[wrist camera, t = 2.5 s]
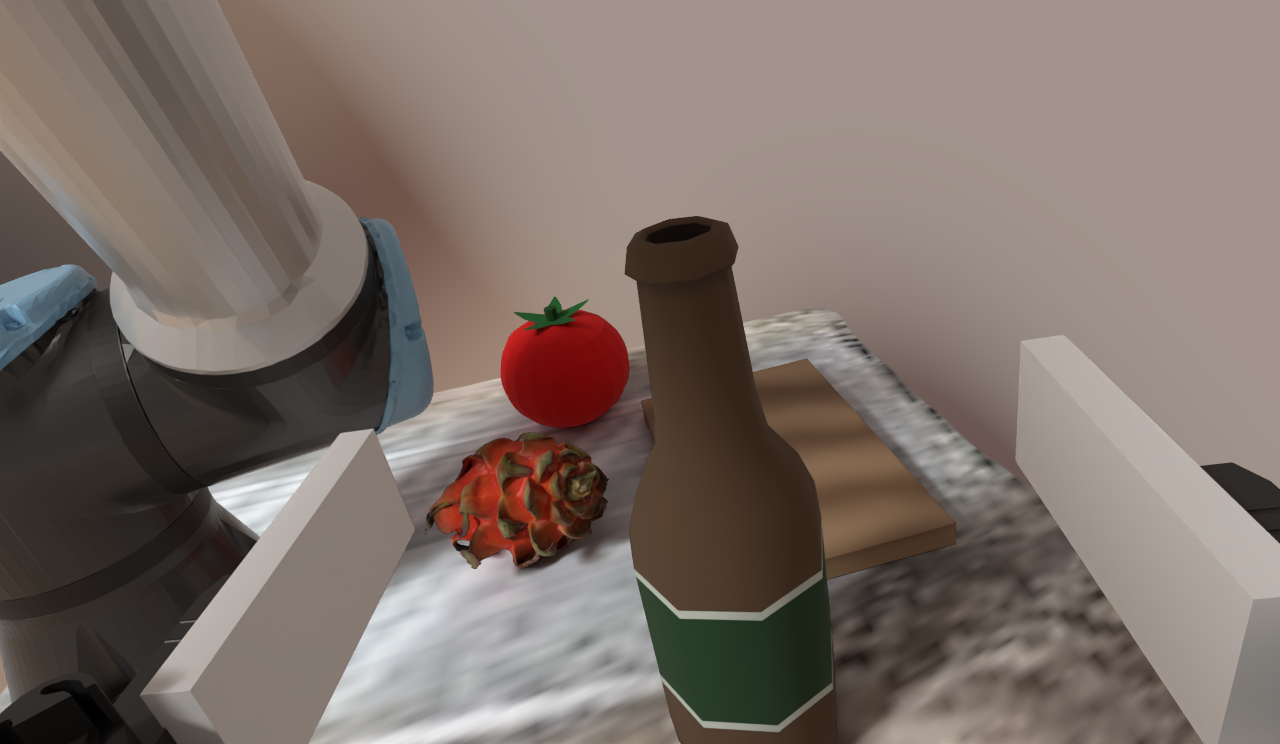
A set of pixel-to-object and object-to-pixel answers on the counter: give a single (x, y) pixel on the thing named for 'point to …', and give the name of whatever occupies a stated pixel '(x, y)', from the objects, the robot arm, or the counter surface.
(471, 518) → the dragon fruit
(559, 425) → the tomato
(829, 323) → the counter surface
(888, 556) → the wooden cutting board
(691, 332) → the beer bottle
